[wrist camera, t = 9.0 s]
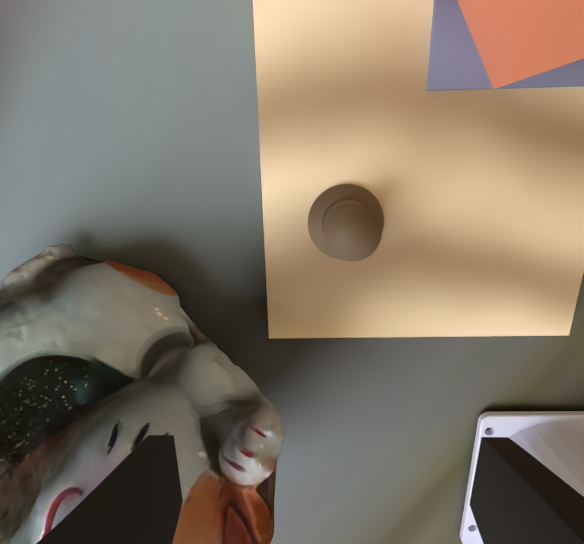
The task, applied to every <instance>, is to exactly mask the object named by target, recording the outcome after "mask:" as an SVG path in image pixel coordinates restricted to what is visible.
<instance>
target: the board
mask: <svg viewBox="0 0 584 544" xmlns="http://www.w3.org/2000/svg"><path fill="white" fill-rule="evenodd" d="M253 12H254V33H255V54H256V75H257V96H258V118H259V139H260V160H261V181H262V202H263V223H264V244H265V266H266V287H267V308H268V329H269V338H360V337H457V336H554V335H569V333H570V328H571V324H572V320H573V316H574V311H575V307H576V303H577V298H578V294H579V290H580V285H581V281H582V277H583V273H584V59H581V60H578V61H575V62H572V63H569V64H566V65H563V66H560V67H557V68H554V69H552V70H549V71H546V72H543V73H540V74H537V75H534V76H531V77H528V78H525V79H522V80H520V81H517V82H514V83H511V84H508V85H505V86H502V87H499V88H496V89H493V86H492V84H491V81H490V79H489V77H488V74H487V72H486V69H485V67H484V64H483V62H482V60H481V57H480V55H479V52H478V50H477V47H476V45H475V42H474V40H473V38H472V35H471V33H470V30H469V28H468V25H467V23H466V20H465V18H464V16H463V13H462V11H461V8H460V6H459V3H458V1H457V0H253Z"/></svg>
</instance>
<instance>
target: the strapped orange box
mask: <svg viewBox="0 0 584 544" xmlns="http://www.w3.org/2000/svg"><path fill="white" fill-rule="evenodd" d="M457 1H458V3H459V6H460V8H461V11H462V13H463V16H464V18H465V20H466V23H467V25H468V28H469V30H470V33H471V35H472V38H473V40H474V42H475V45H476V47H477V50H478V52H479V55H480V57H481V60H482V62H483V64H484V67H485V69H486V72H487V74H488V77H489V79H490V81H491V84H492V86H493V89H496V88H499V87H502V86H505V85H508V84H511V83H514V82H517V81H520V80H522V79H525V78H528V77H531V76H534V75H537V74H540V73H543V72H546V71H549V70H552V69H554V68H557V67H560V66H563V65H566V64H569V63H572V62H575V61H578V60H581V59H584V0H457Z"/></svg>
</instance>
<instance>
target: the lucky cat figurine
mask: <svg viewBox="0 0 584 544" xmlns="http://www.w3.org/2000/svg"><path fill="white" fill-rule="evenodd" d="M284 433H285V431H284V428H283V424H282V421H281V418H280V416H279V414H278V412H277V410H276V408H275V406H274V405H273V404H272V403H271V402H270V401H269V400H268V399H267V398H265V397H264V396H263V395H262V394H261V392H260V390H259V389H258V387H257V386H256V384H255V382H254V381H253V380H252V379H251V378H250V377H249V376H248V375H247V374H246V373H245V372H244V371H243V370H242V369H241V368H240V367H239V366H235V365H234V364H233V363H232V362H231V361H230V360H229V358H228V356H227V355H225V354H224V353H223V352H222V351H221V350H219V349H218V348H217V345H216V344H214V343H213V342H212V341H211V340H210V339H209V338H207V337H206V336H205V335H204V334H203V333H202V332H201V331H200V330H199V329H198V327H197V326H196V325H195V324H194V323H193V322H192V321H191V320H190V318H189V317H188V316H187V315H186V313H185V312H184V310H183V309H182V308H181V307H180V302H179V296H178V295H177V293H176V292H175V290H174V289H173V288H172V287H171V286H170V285H169V284H168V283H167V282H166V281H165V280H163V279H162V278H161V277H159V276H158V275H157V274H155V273H153V272H150V271H146V270H143V269H139V268H136V267H132V266H128V265H124V264H121V263H118V262H115V261H112V260H106V261H105V262H103V263H101V262H98V261H95V260H92V259H88V258H85V257H83V256H79V255H77V254H76V252H75V251H74V250H73V249H72V248H71V246H69V245H57V246H51V245H50V246H48V247H47V249H46V250H45V251H43V252H42V253H40V254H39V255H37V256H36V257H34V258H32V259H30V260H29V261H27V262H25V263H24V264H22V265H20V266H19V267H17V268H16V269H14V270H13V271H11V272H10V273H9V274H8V275H7V276H6V277H5V278H4V280H3V281H2V283H1V284H0V544H36V543H37V542H39V541H40V540H41V539H42V538H43V537H44V536H45V535H46V534H47V533H49V532H50V531H51V530H52V529H53V528H54V527H55V526H56V525H57V524H58V523H59V522H60V521H62V520H63V519H64V518H65V517H66V516H67V515H68V514H69V513H70V512H71V511H72V510H73V509H74V508H75V507H76V506H77V505H78V504H79V503H80V502H81V501H82V500H83V499H84V498H85V497H86V496H87V495H88V494H90V493H91V492H92V491H93V490H94V489H95V488H96V487H97V486H98V485H99V484H100V483H101V482H102V481H103V480H104V479H105V478H106V477H107V476H108V475H109V474H110V473H111V472H112V471H113V470H114V469H115V468H116V467H117V466H118V465H119V464H120V463H121V462H122V461H123V460H124V459H125V458H126V457H127V456H128V455H129V454H130V453H131V452H132V451H133V450H134V449H135V448H136V447H137V446H138V445H139V444H140V443H141V442H142V441H143V440H144V439H145V438H146V437H147V436H148V435H174V440H175V448H176V455H177V462H178V469H179V477H180V484H181V491H182V499H183V503H182V507H181V511H180V515H179V519H178V523H177V527H176V531H175V535H174V539H173V543H172V544H270V543H271V540H272V538H273V534H274V495H275V480H276V465H277V459H278V457H279V454H280V451H281V446H282V443H283V440H284Z"/></svg>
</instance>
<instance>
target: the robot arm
mask: <svg viewBox="0 0 584 544" xmlns="http://www.w3.org/2000/svg"><path fill="white" fill-rule="evenodd" d="M487 428H490V429H488V430H486V429H487ZM182 503H183V499H182V491H181V484H180V477H179V469H178V462H177V455H176V448H175V440H174V435H148V436H147V437H146V438H145V439H144V440H143V441H142V442H141V443H140V444H139V445H138V446H137V447H136V448H135V449H134V450H133V451H132V452H131V453H130V454H129V455H128V456H127V457H126V458H125V459H124V460H123V461H122V462H121V463H120V464H119V465H118V466H117V467H116V468H115V469H114V470H113V471H112V472H111V473H110V474H109V475H108V476H107V477H106V478H105V479H104V480H103V481H102V482H101V483H100V484H99V485H98V486H97V487H96V488H95V489H94V490H93V491H92V492H91V493H90V494H88V495H87V496H86V497H85V498H84V499H83V500H82V501H81V502H80V503H79V504H78V505H77V506H76V507H75V508H74V509H73V510H72V511H71V512H70V513H69V514H68V515H67V516H66V517H65V518H64V519H63V520H62V521H60V522H59V523H58V524H57V525H56V526H55V527H54V528H53V529H52V530H51V531H50V532H49V533H47V534H46V535H45V536H44V537H43V538H42V539H41V540H40V541H39V542H37V543H36V544H172V543H173V539H174V535H175V531H176V527H177V523H178V519H179V515H180V511H181V507H182ZM460 538H461V541H462V543H463V544H584V411H503V412H485V413H483V414H481V415H480V416H479V419H478V424H477V431H476V437H475V443H474V449H473V455H472V462H471V468H470V474H469V480H468V487H467V493H466V499H465V505H464V511H463V518H462V524H461V530H460Z"/></svg>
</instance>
